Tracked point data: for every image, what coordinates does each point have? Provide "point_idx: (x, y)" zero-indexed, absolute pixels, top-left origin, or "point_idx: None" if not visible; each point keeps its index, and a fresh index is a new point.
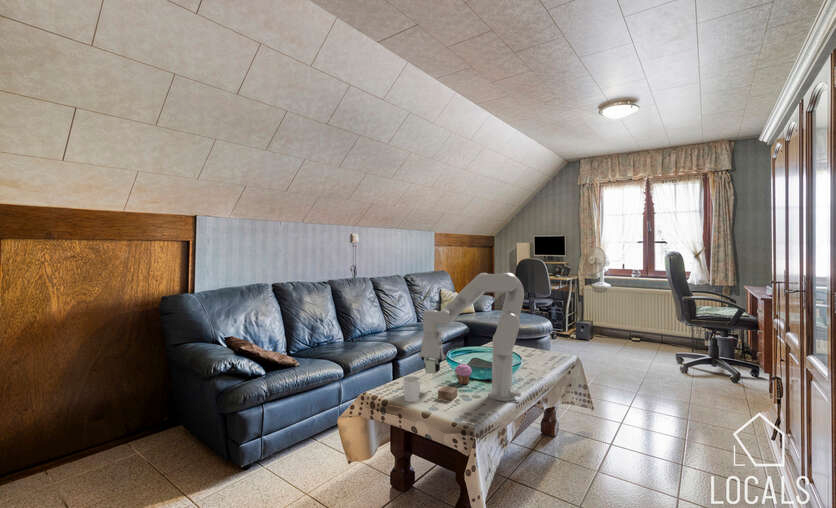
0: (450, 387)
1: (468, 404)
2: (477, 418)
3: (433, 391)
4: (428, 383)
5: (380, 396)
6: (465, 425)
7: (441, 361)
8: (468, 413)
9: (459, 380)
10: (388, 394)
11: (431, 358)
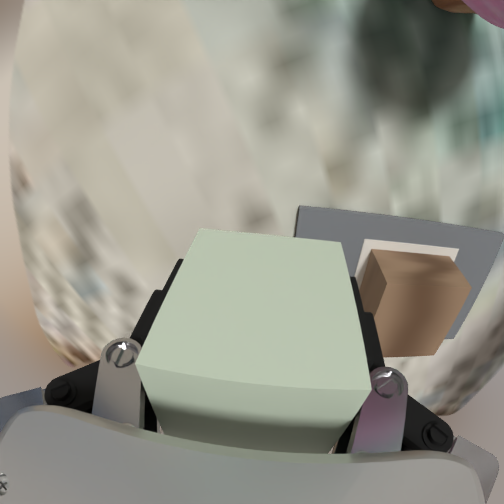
0: (432, 294)
1: (483, 304)
2: (481, 374)
3: (286, 214)
4: (179, 68)
5: (92, 352)
6: (440, 411)
7: (422, 406)
8: (465, 363)
9: (444, 3)
10: (97, 331)
11: (188, 380)
